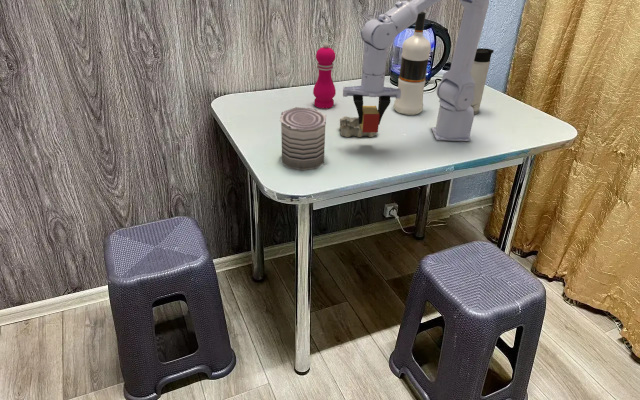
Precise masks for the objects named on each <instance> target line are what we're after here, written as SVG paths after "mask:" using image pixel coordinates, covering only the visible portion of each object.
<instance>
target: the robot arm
mask: <svg viewBox="0 0 640 400" xmlns="http://www.w3.org/2000/svg"><path fill="white" fill-rule="evenodd" d="M440 1H441V0H410V1H408V0H402V1H400V0H398V1H396V2H395V3H394V5H395V6H393V7H391V8H390V9H389V10H388V11H386V12H385V13H381V14H380V15H378V18H377V19H376V18H371V19H370V20H368V21H367V22H366V23H365V24H364V26H363V28H362V30H361V31H360V38H361V40H362V41H363V56H362V58H363V59H362V67H361V71H362V72H361V82H360V85H354V86H343V88H342V97H343V98H347V97H352V99H353V103H354V105H355V108H356V111H357V117H359V124H362V109H363V106H364V97H369V98H378V107H377V110H378V112H379V114H380V116H379V126H380V125H381V121H382V118H383V115H384V114H385V112H386V110H387V109H388V107H389V106H390V104H391V101H392V100H391V98H395V99H396V98H397V99H400V97H401V89H398V88H395V87H390V86H389V87H388V86H385V79H386V70H387V60H388V51H389V47H391V46H392V45H393V43H394V40H395V38H396V37H398V35H399V34H401V33H403V32H404V31H405V30H407V29H408V28H409V27H411V26H412V25H414V24H415V23H416V20H417V16H418V14H419V13H421V12H425V11H426V10H427V9H429V8H431V7H432V6H434V5H435V4H437V3H439V2H440ZM458 1H459V3H460V4H461V6H462V7H463V13H462V17H461V22H460V25H459V30H458V34H457V39H456V43H455V47H454V51H453V56H452V60H451V64H450V68H449V69H448V70H447V71H445V72H444V73H443V74H442V78H441V80H440V82H439V83H438V85H437V87H436V96H437V97H438V99H439V101H438V103H439V108H438V113H437V119H436V124H435V125H436V126H432V127H431V131H432V133H433V136H434V138H435V140H436V141H448V142H449V141H450V142H451V141H452V142H470V140H471V139H470V136H471V132H472V128H473V123H474V116H475V114H474V111H473V108H472V107H471V104H472V103H473V101H474V98H475V93H474V88H475V82H474V79H473V77H472V75H471V70H472V66H473V62H474V59H475V55H476V51H477V49H478V47H479V44H480V39H481V35H482V32H483V27H484V25H485V21H486V17H487V13H488V9H489V5H490V0H458Z"/></svg>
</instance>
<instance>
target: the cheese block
mask: <svg viewBox="0 0 640 400" xmlns="http://www.w3.org/2000/svg"><path fill="white" fill-rule="evenodd" d="M379 116H380V114H379V112H378V107H377V105H363V109H362V124H360V126H361V129H362V132H377V133H379V126H380V125H379Z"/></svg>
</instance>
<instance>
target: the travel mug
mask: <svg viewBox="0 0 640 400" xmlns="http://www.w3.org/2000/svg"><path fill="white" fill-rule="evenodd" d="M494 51H495V50H494V49H491V48H486V47H485V48H478V47H477V51H476V55H475V59H474V62H473V66H472V70H471V75H472V77H473V79H474V82H475V88H474V93H475V98H474V101H473V103H472V104H471V107H472V108H473V111H474V115H477V114H479V112H480V108H481V104H482V100H483V99H482V98H483V94H484V91H485V85H486V82H487V77H488V73H489V68H490V63H491V58H492V54H494Z"/></svg>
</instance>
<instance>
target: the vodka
mask: <svg viewBox="0 0 640 400" xmlns="http://www.w3.org/2000/svg"><path fill="white" fill-rule="evenodd" d="M426 14H427V13H426V12H425V11H422V12H421V13H419V14H418V16H417V20H416V22H415V23H414V31H413V35H411V36H410V37H408V38H406V39H405V40H404V41H403V42H402V47H401V59H400V68H399V76H398V83H397V84H398V85H397V89H401V97H400V99H397V98H395V99H394V103H393V109H394V111H396V112H397V113H398V114H402V115H404V116H405V115H406V116H414V115H415V116H416V115H418V114H420V113H422V111H423V109H424V90H425V85H426V83H427V81H426V76H427V71H428V70H427V69H428V63H429V59H430V53H431V50H432V45H431V42H430V40H428V39H427V38H426V37H425V36H424V29H425V22H426Z"/></svg>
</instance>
